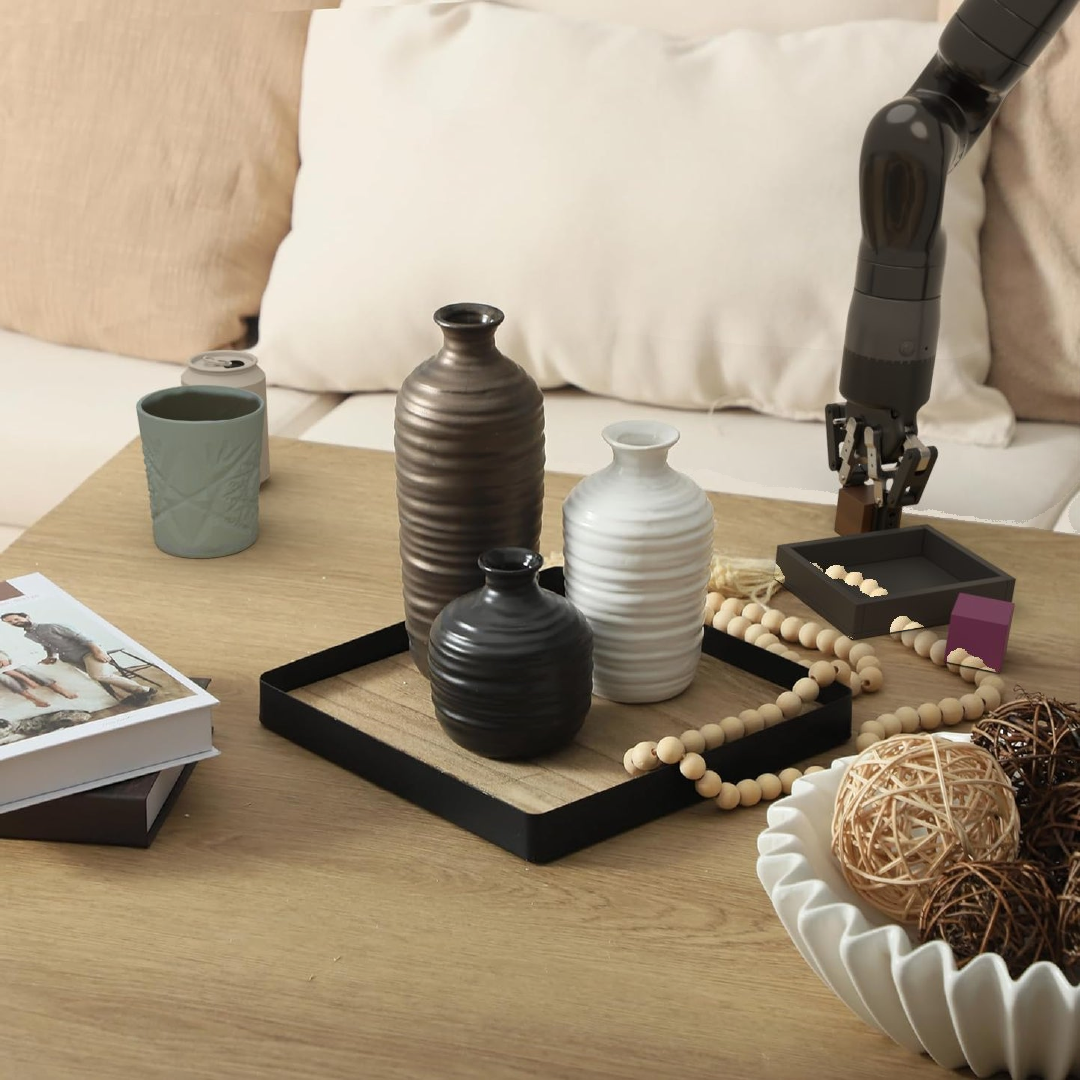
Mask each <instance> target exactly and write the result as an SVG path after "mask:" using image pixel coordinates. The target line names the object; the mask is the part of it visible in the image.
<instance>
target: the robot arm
mask: <svg viewBox="0 0 1080 1080" xmlns="http://www.w3.org/2000/svg"><path fill="white" fill-rule="evenodd" d="M1079 4H1080V0H963V1H962V2H961V4H960V5H959V6H958V8H957V9H956V11H955V12H954V13H953V14H952V16H951V17H950V18H949V20H948V21H947V24H946V25H945V27H944V28H943V31H942V32H941V34H940V36H939V39H938V44H937V50H936V52H935V53H934V54H933V56H932V57H931V59H930V60H929V61H928V63H927V64H926V66H925V67H924V68H923V70H922V71H921V72H920V74H919V75H918V77H917V78H916V79H915V81H914V82H913V84H911V86H910V88H909V89H908V90H907V91H906V92H905V93H904V95H903V96H902V97H901V98H898V99H895V100H893V101H890V102H889V103H887V104H885V105H883V106H882V107H881V108H880V109H879V110H878V111H877V112H876V113H875V114H874V115H873V116H872V118H871V119H870V120H869V122H868V123H867V125H866V129H865V131H864V134H863V138H862V142H861V147H860V154H859V162H858V203H859V218H860V229H861V231H860V240H859V243H858V249H857V255H856V265H855V274H854V282H853V289H852V295H851V299H850V303H849V307H848V311H847V316H846V323H845V332H844V341H843V342H844V343H843V349H842V358H841V366H840V367H841V368H840V375H839V383H838V384H839V385H838V391H839V394H840V395H841V397H842V398H843V399H844V400H846V401H841V402H840V401H839V402H833V403H827V404H826V405H825V407H824V417H825V432H826V446H827V447H826V448H827V463H828V469H829V470H830V471H831V472H837V473H838V481H839V483H840V485H842V487H841V488H847V487H855V486H863V485H868V484H867V482H868V481H869V480H872V482H873V484H874V502H875V505H873V510H872V518H871V526H870V532H874V531H881V530H888V529H895V528H898V526H897V525H898V520H899V513H900V508H901V507H911V506H917V505H919V504H920V501H921V499H922V497H923V494H924V491H925V489H926V487H927V485H928V482H929V479H930V477H931V474H932V472H933V470H934V467H935V464H936V462H937V460H938V457H939V450H938V447H936V446H935V445H927V446H925V444H924V443H923V442H922V441H921V440H920V439H919V438H918V435H919V427H918V419H917V416H918V412H919V411H920V410H921V409H922V407H924V406H925V405H926V404H927V403H929V400H930V399H931V391H932V384H933V379H934V370H935V363H936V358H937V350H938V341H939V336H940V329H941V320H942V319H941V313H942V310H941V309H942V308H941V299H942V293H943V292H942V291H943V287H944V285H943V284H944V279H945V273H946V272H945V271H946V264H947V255H948V232H947V230H946V228H945V226H944V225H943V224H942V223H943V222H942V220H943V213H944V204H945V196H946V195H945V194H946V186H947V180H948V175H950V174H951V173H952V172H953V171H954V170H955V169H956V168H957V167H958V166H959V165H960V164H961V163H962V161H963V160H964V159H965V158H966V157H967V155H968V154H969V153H970V151H971V150H972V149H973V147H974V146H975V144H976V143H977V142H978V140H979V139H980V137H981V136H982V134H983V133H984V132H985V130H986V129H987V127H988V126H989V124H990V123H991V121H992V119H993V118H994V116H995V115H996V113H997V111H999V108H1000V106H1001V105H1002V103H1003V102H1004V99H1006V97H1007V95H1008V94H1009V92H1010V91H1011V90H1012V89H1013V88H1014V87H1015V85H1016V84H1018V83H1019V81H1020V80H1021V79H1022V78H1023V77H1024V76H1025V74H1026V73H1027V72H1028V71H1029V70H1030V69H1031V67H1032V65H1034V63H1035V62H1036V61H1037V59H1038V58H1039V57H1040V56H1041V54H1042V53H1043V52H1044V50H1045V49H1046V48H1047V47H1048V46H1049V44H1050V43H1051V42H1052V41H1053V39H1054V38H1055V36H1057V34H1058V33H1059V31H1060V30H1061V29H1062V27H1063V26H1064V25H1065V23H1066V22H1067V21H1068V19H1069V18H1070V17H1071V15H1072V14H1073V13H1074V11H1075V9H1076V8H1077V6H1078V5H1079ZM841 443H843V445H842V448H841V450H840V444H841ZM893 464H895V466H894V467H889V468H883V467H882V466H886V465H893ZM888 480H892V484H891V487H890V489H889V491H890V492H887V490H888V489H887V482H888ZM907 489H908V490H907Z"/></svg>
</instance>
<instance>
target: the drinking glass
mask: <svg viewBox="0 0 1080 1080" xmlns="http://www.w3.org/2000/svg"><path fill="white" fill-rule="evenodd" d="M135 409H136V410H135V411H136V415H137V422H138V429H139V434H140V439H141V443H142V445H141V451H142V454H143V456H144V458H143V464H144V465H145V469H144V471H145V475H146V476H145V477H146V480H147V488H148V489H147V490H148V491H149V496H148V498H149V509H150V516H151V517H150V518H151V519H152V533H153V540H154V543H155V546H156V547H157V548H158V549H159V550H161V551H162V552H164V553H166V554H169V555H171V556H174V557H181V558H186V559H211V558H220V557H225V556H230V555H233V554H237V553H239V552H241V551H244V550H246V549H248V548H249V547H251V546H252V545H254V543H255V542H256V540H257V538H258V535H259V534H258V533H259V514H260V506H259V500H260V488H261V485H260V477H261V473H260V469H259V467H260V458H261V453H262V439H263V437H262V432H263V425H264V412H265V403H264V401H263V399H262V398H261V397H260V396H259V395H257V394H255V393H253V392H251V391H247V390H244V389H239V388H235V387H227V386H217V385H190V386H181V385H179V386H172V387H168V388H162V389H159V390H156V391H152V392H150V393H147V394H145V395H143V396H142V397H140V399H138V401H136V405H135Z"/></svg>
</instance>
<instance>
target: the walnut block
mask: <svg viewBox="0 0 1080 1080" xmlns="http://www.w3.org/2000/svg"><path fill="white" fill-rule="evenodd" d="M887 492H890V489H887ZM873 505H875V502H874V483H872V484H867V485H863V486H855V487H847V488H842V487H840V488H838V495H837V503H836V509H835V520H834V526H833V527H834V528H833V530H834V532H836V533H837V534H839V536H846V535H853V534H860V533H867V532H870V526H871V518H872V510H873ZM903 507H904V506H903ZM903 507H901V508H900V513H899V520H898V525H897V526H898V528H901V523H902V516H903V515H902V514H903Z"/></svg>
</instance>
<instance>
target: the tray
mask: <svg viewBox="0 0 1080 1080" xmlns="http://www.w3.org/2000/svg"><path fill="white" fill-rule="evenodd" d="M774 562H775V563H776V564H777V565H778V566H779V567H780V569H781V571H782V573H783V575H784V576H785V582H784V583H783V584H781V586H782V587H784V588H785V589H787V591H789V592H790V593H791V594H793V595H794V596H795V597H797V598H798V600H800V601H802V602H803V603H804V604H805V605H807V606H808V607H809V608H811V609H812V610H813V611H814V612H816V613H817V614H818V615H819V616H821V617H822V618H823V619H825V620H826V621H827V623H830V624H831V625H832V626H833V627H835V628H836V629H837V630H839V631H840V632H841V633H842V634H843V635H845V636H846V635H847V636H849V637H852V638H853V639H854V640H861V639H865V638H866V639H867V638H873V637H878V636H883V635H889V634H891V633H890V627H891V624H892V622H893V621H894V619H896V618H897V617H899V616H907V617H908V618H909V619H910V620H911V621H914V622H918V623H919V624H921V625H923V626H924V628H930V627H938V626H942V625H949V624H950V618H951V613H952V610H953V608H954V605H955V603H956V600H957V598H958V595H959V593H964V594H969V595H975V596H980V597H985V598H990V599H996V600H1001V601H1006V602H1011V603H1013V598H1014V593H1015V589H1016V588H1015V587H1016V582H1017V579H1016V578H1015V577H1014V576H1012V575H1011V574H1009V573H1007V572H1006V571H1004V570H1003V569H1001V568H999V567H998V566H996V565H994V563H992V562H990V561H988V560H986V559H985V558H984V557H981V556H980V555H978V554H977V553H975V552H974V551H972V550H971V549H969V548H968V547H966V546H964V545H962V544H961V543H959V542H957V541H956V540H954V539H952V538H951V537H950V536H948V535H946V534H945V533H943V532H942V531H939V530H938V529H936V528H935V527H934V526H932V525H931V524H928V523H924V524H918V525H910V526H903V527H900V528H895V529H888V530H881V531H874V532H867V533H860V534H853V535H846V536H841V535H839V536H831V537H825V538H817V539H812V540H804V541H803V540H802V541H796V542H789V543H782V544H777V545H776V555H775V561H774ZM810 562H811V563H810ZM812 563H817V565H818V566H820V568H822V569H823V572H822V571H821V570H820V569H818V568H817V567H816V566H814V565H813V564H812ZM833 565H840V566H844V569H845V571H846V572H847V573H850V572H860V573H862V577H863V580H865V579H873V580H876V581H877V583H878V586H879V587H882V588H883V589H886V590H887V592H888V594H887V595H881V596H874V597H870V596H869V595H867V594H865V593H862V591H860V588H859V586H858V585H857V586H855V585H853V586H851V585H848V584H847V583H845V581H844V580H843V579H839V578H838V579H832V578H831V577H829V576H828V575H827V574H825V572H826V569H828V568H829V567H830V566H833ZM924 628H923V629H924ZM847 636H846V637H847ZM849 637H848V638H849ZM854 640H853V641H854Z"/></svg>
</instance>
